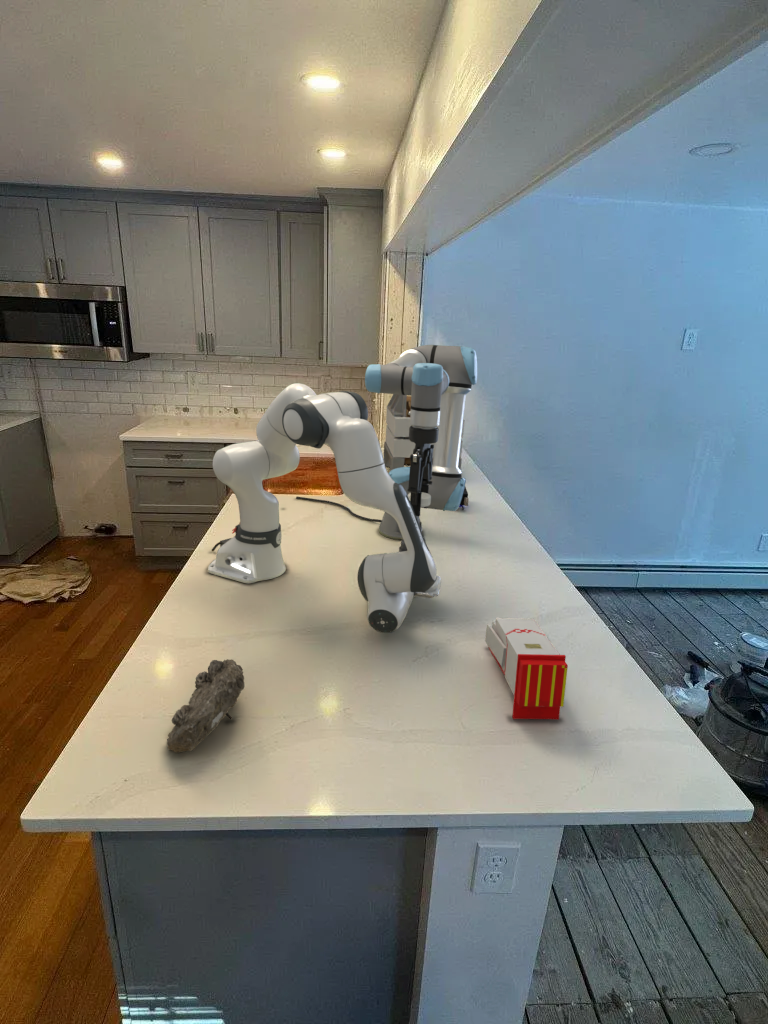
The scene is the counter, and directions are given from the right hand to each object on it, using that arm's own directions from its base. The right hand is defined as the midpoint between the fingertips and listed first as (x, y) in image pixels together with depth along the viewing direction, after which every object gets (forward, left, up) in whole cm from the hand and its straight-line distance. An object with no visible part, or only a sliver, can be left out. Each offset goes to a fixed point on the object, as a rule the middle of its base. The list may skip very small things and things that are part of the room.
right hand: (418, 511), depth 152 cm
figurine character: (-43, +65, -24) cm, 82 cm away
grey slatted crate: (-86, +86, -24) cm, 124 cm away
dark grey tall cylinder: (0, -3, -24) cm, 24 cm away
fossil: (+15, -67, -24) cm, 73 cm away
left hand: (-1, -2, -17) cm, 17 cm away
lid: (0, 0, +4) cm, 4 cm away
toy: (+43, -10, -24) cm, 50 cm away
